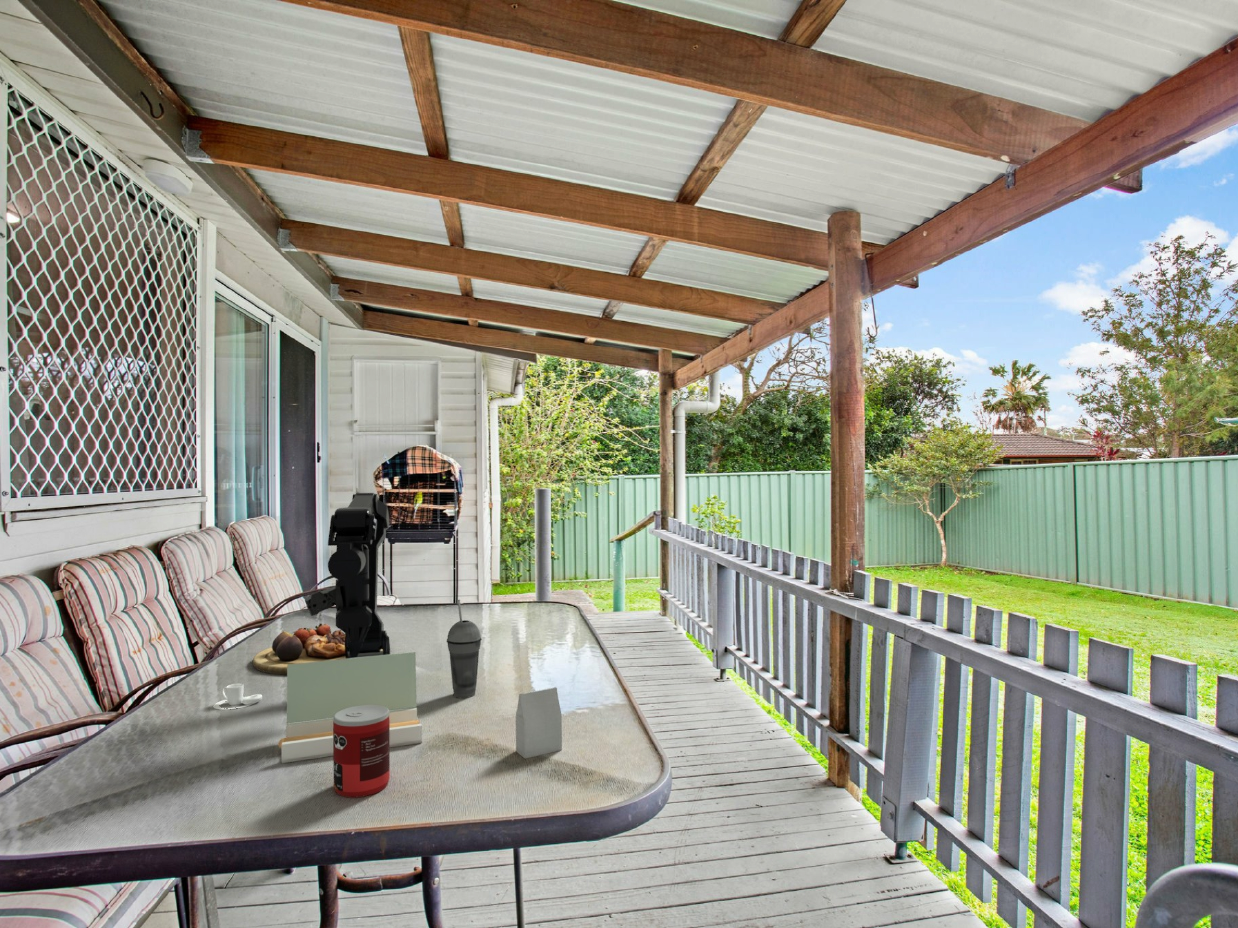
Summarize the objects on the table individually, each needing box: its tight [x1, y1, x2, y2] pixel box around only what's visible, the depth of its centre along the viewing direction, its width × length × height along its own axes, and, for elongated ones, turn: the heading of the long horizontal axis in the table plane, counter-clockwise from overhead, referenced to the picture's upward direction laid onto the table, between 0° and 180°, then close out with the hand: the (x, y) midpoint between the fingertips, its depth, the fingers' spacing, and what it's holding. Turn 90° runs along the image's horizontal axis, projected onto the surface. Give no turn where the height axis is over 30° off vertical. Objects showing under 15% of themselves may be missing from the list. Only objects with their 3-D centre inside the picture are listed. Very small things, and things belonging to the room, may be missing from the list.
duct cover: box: [286, 651, 418, 725], centre depth 128 cm, size 10×22×2 cm
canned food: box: [332, 705, 391, 798], centre depth 104 cm, size 8×8×11 cm
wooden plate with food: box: [252, 622, 383, 676], centre depth 178 cm, size 32×32×8 cm
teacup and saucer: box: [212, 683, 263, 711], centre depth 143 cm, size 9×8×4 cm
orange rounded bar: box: [277, 719, 421, 750], centre depth 121 cm, size 2×23×2 cm, turn 111°
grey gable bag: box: [515, 686, 563, 759], centre depth 117 cm, size 4×7×10 cm, turn 121°
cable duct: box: [281, 707, 423, 764], centre depth 121 cm, size 10×22×3 cm, turn 111°
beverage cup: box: [446, 599, 483, 699], centre depth 147 cm, size 7×7×20 cm
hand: (353, 653), depth 134 cm, fingers open, 7 cm apart
